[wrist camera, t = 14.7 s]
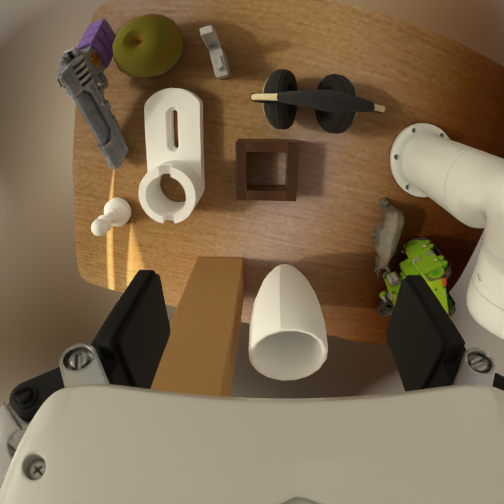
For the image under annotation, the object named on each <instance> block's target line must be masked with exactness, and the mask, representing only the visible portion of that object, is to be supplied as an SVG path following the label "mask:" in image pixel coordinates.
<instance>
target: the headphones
mask: <svg viewBox="0 0 504 504" xmlns="http://www.w3.org/2000/svg"><path fill="white" fill-rule="evenodd" d="M250 99H251V100H252V101H254V102H259V103H262V105H263V112H264V115H265V117H266V119H267V120H268V121H269V122H270V124H271V125H272V126H273V127H275V128H276V129H283V130H285V129H288V128H289V127H291V126H292V124H293V122H294V120H295V116H296V111H297V106H302V107H307V108H312V109H315V111H316V116H317V119H318V122H319V124H320V125H321V127H322V128H323V129H324V130H325V131H327V132H329V133H337V134H338V133H342V132H344V131H345V130H346V129H347V128H348V127H349V126H350V125H351V124H352V122H353V121H354V119H355V117H356V115H357V112H376V113H382V112H384V111H385V107H384V106H382V105H378V104H374V103H373V102H371V101H369V100H366V99H364V98H360V97H357V94H356V91H355V89H354V87H353V85H352V84H351V82H350V81H349V80H348V79H347V78H346V77H344V76H342V75H338V74H331V75H328V76H326V77H325V78H324V79H323V80H322V81H321V82H320V84H319V86H318V89H317V90H299V91H297V84H296V79H295V76H294V75H293V73H292V72H291V71H288V70H285V69H279V70H276V71H275V72H274V73H272V74H271V75H270V77H269V78H268V79H267V80H266V82H265V84H264V88H263V93H252V94H251V95H250Z"/></svg>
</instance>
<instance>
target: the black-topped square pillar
mask: <svg viewBox="0 0 504 504" xmlns="http://www.w3.org/2000/svg"><path fill="white" fill-rule="evenodd" d="M243 299H244V275H243V258H232V257H198V259H197V261H196V263H195V266H194V268H193V271H192V273H191V275H190V278H189V280H188V282H187V285H186V287H185V290H184V292H183V295H182V297H181V299H180V302H179V304H178V307H177V309H176V312H175V314H174V317H173V319H172V322H171V324H170V336H169V339H168V342H167V345H166V347H165V350H164V353H163V355H162V358H161V361H160V363H159V366H158V369H157V372H156V374H155V377H154V380H153V383H152V386H151V388H150V389H153V390H161V391H169V392H179V393H188V394H198V395H209V396H223V397H230V395H231V388H232V381H233V373H234V366H235V358H236V351H237V343H238V336H239V329H240V321H241V314H242V306H243Z"/></svg>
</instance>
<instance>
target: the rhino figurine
mask: <svg viewBox="0 0 504 504" xmlns="http://www.w3.org/2000/svg"><path fill="white" fill-rule="evenodd" d="M379 205H380V206H383V210H382V220H383V221H381V223H380V224H379V226H378V228H377V230H375V231H373V232H372V233H371V234H372V237H373V238H374V237H376V238H375V242H374V246H375V250H376V252H377V254H378V255H377V256H376V258H375V264H374V265H375V268H374V272H375V273H377V277H378V278H379V273H380V272H381V269H386V270H387V272H388V273H389V274H390V273H391V270H390V269H389V267H388V264H389V261H390V260H391V258H392V257H393V255H394V254H395V252H396V249H397V244H398V241H399V239H400V236H401V232H402V228H403V226H404V215H403V213H402V212H401V211H400V210H399V209H395V208H394V207H392V206H391V205H389V202H388V200H387V199H386V198H385V197H384V198H381V199H380V200H379Z"/></svg>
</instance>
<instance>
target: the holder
mask: <svg viewBox="0 0 504 504" xmlns="http://www.w3.org/2000/svg"><path fill="white" fill-rule="evenodd" d="M248 152H286V181H285V185H248ZM297 166H298V142H297V140H289V139H287V140H286V139H238V140H237V141H236V182H237V200H272V201H296V193H297Z"/></svg>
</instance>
